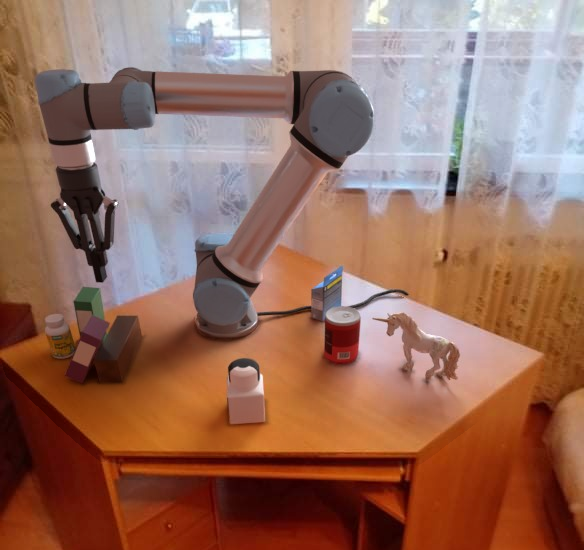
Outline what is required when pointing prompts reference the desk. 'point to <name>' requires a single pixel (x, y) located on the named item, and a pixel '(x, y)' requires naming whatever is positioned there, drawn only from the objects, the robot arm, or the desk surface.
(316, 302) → the tape cartridge
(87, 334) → the plum tea box
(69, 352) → the supplement bottle
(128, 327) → the walnut block
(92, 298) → the green tea box
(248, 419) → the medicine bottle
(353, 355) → the canned food
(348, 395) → the desk surface
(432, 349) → the unicorn figurine
